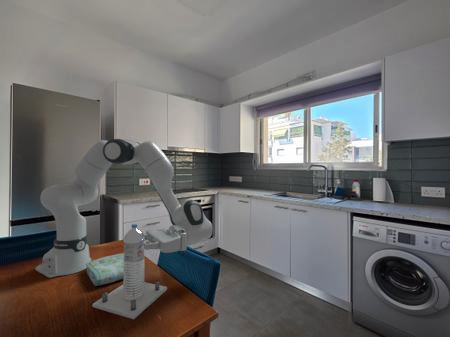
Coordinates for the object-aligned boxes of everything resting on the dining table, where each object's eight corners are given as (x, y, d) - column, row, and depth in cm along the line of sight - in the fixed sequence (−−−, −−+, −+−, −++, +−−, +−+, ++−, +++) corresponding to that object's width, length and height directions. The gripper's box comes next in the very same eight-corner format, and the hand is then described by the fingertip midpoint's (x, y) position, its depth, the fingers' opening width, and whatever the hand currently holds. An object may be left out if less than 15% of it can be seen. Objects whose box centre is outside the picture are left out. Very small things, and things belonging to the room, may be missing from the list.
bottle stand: (92, 306, 70) (92, 296, 70) (131, 281, 86) (131, 272, 86) (133, 319, 64) (133, 307, 64) (166, 289, 80) (167, 280, 80)
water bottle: (137, 288, 79) (138, 221, 79) (148, 295, 75) (148, 224, 75) (119, 297, 74) (120, 224, 74) (129, 304, 70) (130, 228, 70)
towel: (126, 260, 108) (126, 249, 108) (143, 275, 92) (143, 263, 92) (84, 271, 95) (84, 259, 95) (94, 291, 80) (95, 277, 80)
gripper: (166, 223, 93) (133, 228, 85) (188, 234, 77) (149, 241, 69) (166, 237, 93) (132, 244, 85) (188, 251, 77) (149, 261, 69)
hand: (140, 243), depth 77 cm, fingers open, 8 cm apart
